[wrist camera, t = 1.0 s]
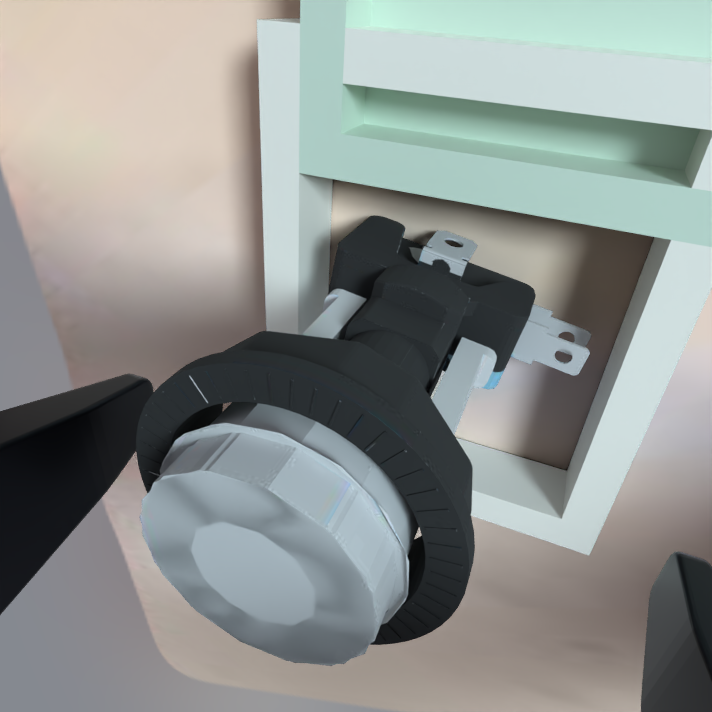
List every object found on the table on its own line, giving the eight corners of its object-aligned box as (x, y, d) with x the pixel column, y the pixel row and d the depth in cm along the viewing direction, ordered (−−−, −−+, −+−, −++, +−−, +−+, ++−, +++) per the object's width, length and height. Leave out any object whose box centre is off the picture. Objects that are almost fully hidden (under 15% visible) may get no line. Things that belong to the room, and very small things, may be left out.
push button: (636, 245, 13) (665, 614, 5) (544, 411, 16) (471, 801, 8) (374, 155, 14) (69, 338, 6) (336, 326, 17) (99, 591, 9)
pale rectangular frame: (781, 62, 10) (810, 72, 9) (588, 513, 17) (584, 564, 16) (300, 18, 13) (256, 19, 12) (297, 421, 20) (270, 456, 18)
